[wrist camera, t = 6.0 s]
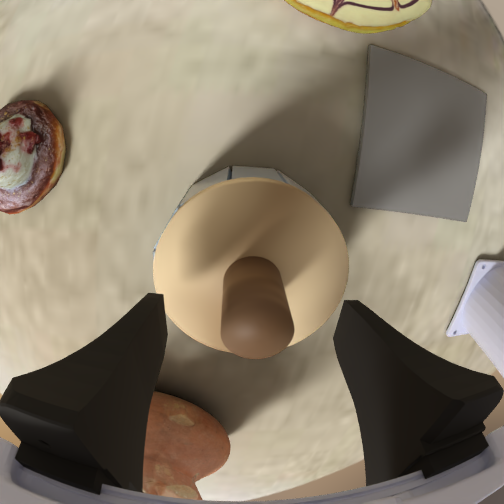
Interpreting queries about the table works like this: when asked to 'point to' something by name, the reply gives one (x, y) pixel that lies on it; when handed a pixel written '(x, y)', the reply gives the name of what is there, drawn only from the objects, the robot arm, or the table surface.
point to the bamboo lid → (251, 266)
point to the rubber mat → (418, 139)
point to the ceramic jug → (181, 447)
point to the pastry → (28, 154)
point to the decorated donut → (363, 13)
